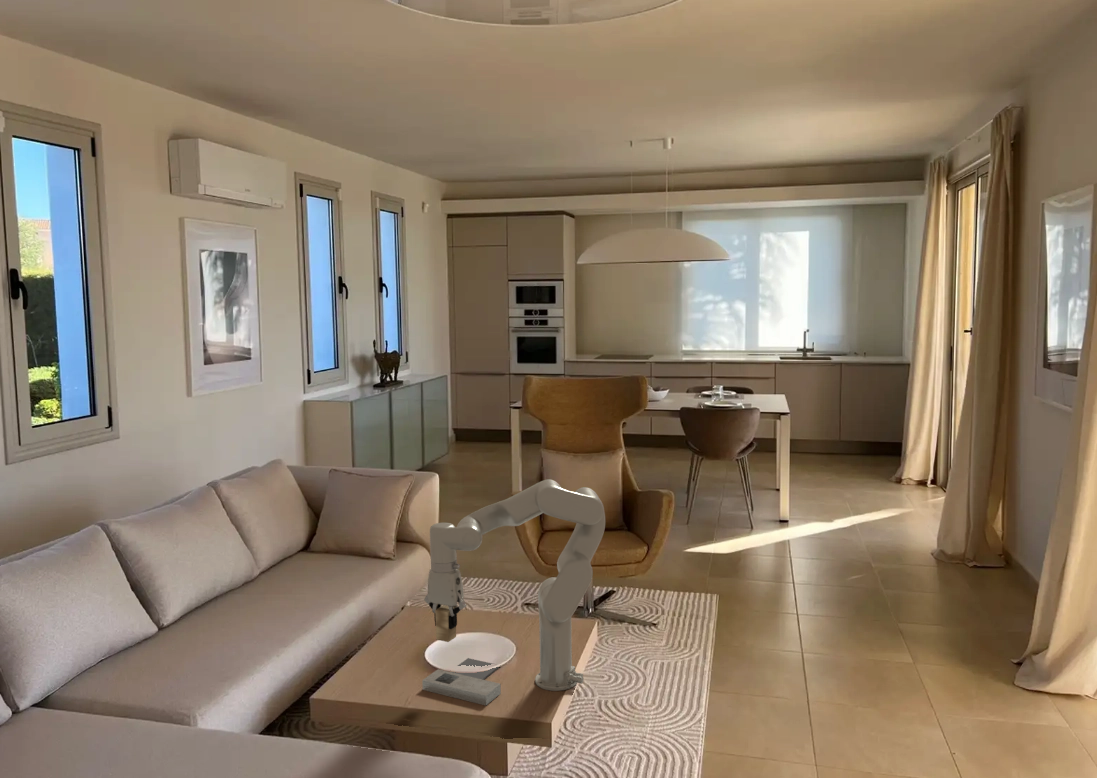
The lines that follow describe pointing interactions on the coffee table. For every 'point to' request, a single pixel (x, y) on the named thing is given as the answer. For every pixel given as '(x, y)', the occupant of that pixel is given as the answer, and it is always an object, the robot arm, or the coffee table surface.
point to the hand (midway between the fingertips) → (445, 625)
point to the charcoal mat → (479, 674)
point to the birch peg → (444, 625)
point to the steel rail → (461, 687)
